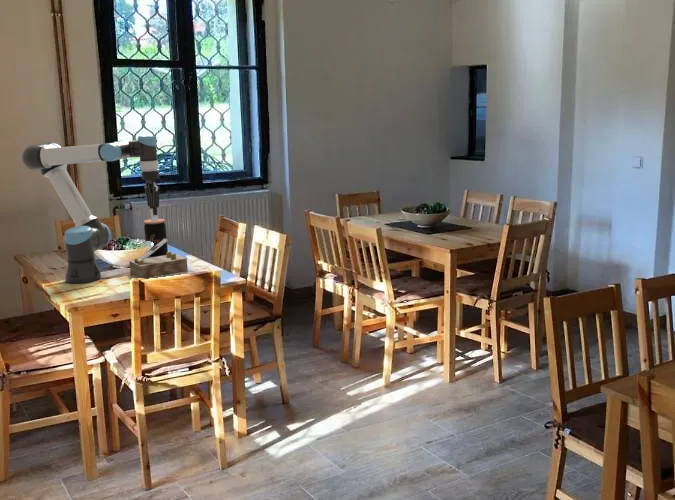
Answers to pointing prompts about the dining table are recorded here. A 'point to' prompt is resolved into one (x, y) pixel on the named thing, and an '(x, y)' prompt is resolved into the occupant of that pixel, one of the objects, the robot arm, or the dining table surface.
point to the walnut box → (158, 265)
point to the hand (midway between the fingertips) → (155, 222)
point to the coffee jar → (156, 235)
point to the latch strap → (152, 249)
